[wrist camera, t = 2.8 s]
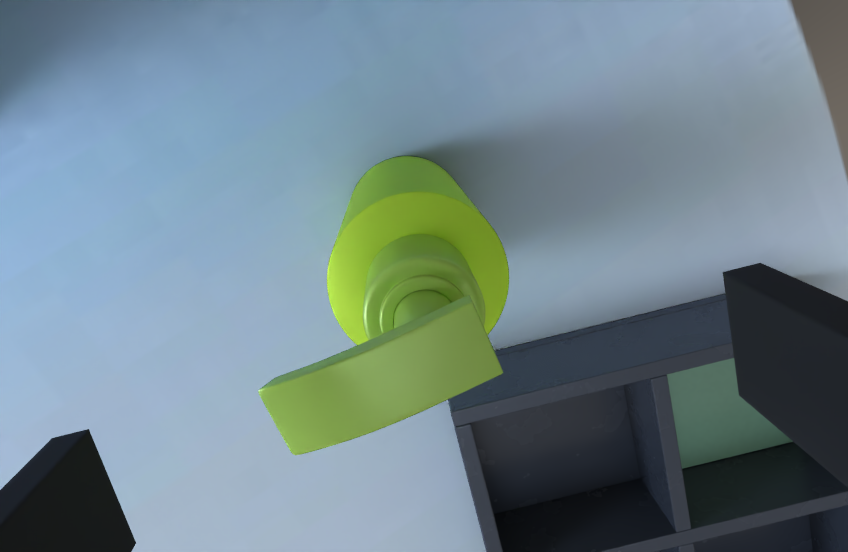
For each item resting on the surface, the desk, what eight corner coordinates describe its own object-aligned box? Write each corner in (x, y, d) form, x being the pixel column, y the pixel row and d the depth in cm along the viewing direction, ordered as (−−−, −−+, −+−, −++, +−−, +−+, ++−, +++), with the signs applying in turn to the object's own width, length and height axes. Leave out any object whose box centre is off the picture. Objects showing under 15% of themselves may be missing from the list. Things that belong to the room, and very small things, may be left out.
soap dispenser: (310, 193, 34) (208, 322, 14) (437, 136, 33) (505, 191, 14) (360, 295, 35) (328, 536, 16) (481, 242, 35) (599, 423, 16)
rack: (440, 363, 36) (450, 412, 31) (790, 277, 36) (864, 310, 31) (513, 646, 42) (532, 732, 36) (820, 572, 41) (888, 647, 36)
